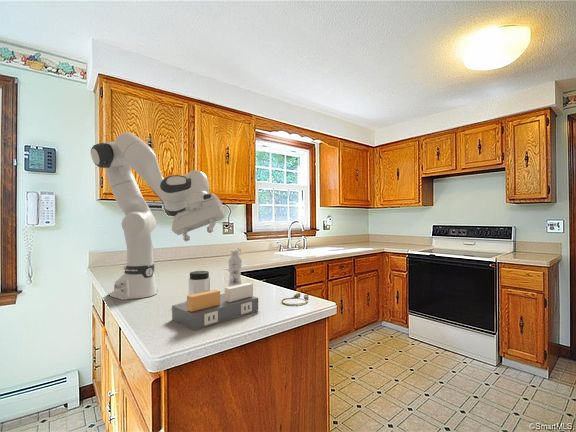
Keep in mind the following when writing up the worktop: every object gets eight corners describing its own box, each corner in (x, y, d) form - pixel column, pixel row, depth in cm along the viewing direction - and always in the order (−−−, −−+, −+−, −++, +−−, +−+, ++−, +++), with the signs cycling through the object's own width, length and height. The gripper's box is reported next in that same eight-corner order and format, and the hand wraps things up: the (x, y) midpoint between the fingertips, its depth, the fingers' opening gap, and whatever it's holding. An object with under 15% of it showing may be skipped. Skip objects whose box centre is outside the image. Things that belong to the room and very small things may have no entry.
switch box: (163, 315, 108) (163, 301, 108) (225, 300, 128) (225, 288, 128) (195, 330, 93) (195, 314, 93) (259, 311, 113) (259, 297, 113)
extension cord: (319, 301, 128) (319, 296, 128) (293, 309, 117) (293, 304, 117) (299, 296, 137) (299, 291, 137) (273, 302, 126) (273, 297, 126)
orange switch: (186, 309, 98) (186, 295, 98) (215, 302, 106) (215, 289, 106) (191, 311, 95) (191, 297, 96) (220, 304, 104) (220, 291, 104)
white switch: (224, 300, 109) (224, 287, 109) (248, 294, 117) (248, 282, 117) (229, 301, 107) (229, 289, 107) (252, 296, 115) (252, 283, 115)
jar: (210, 296, 135) (209, 270, 135) (209, 301, 127) (209, 273, 127) (189, 297, 133) (189, 271, 133) (187, 302, 125) (187, 274, 125)
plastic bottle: (235, 289, 147) (235, 249, 147) (244, 292, 143) (244, 250, 143) (225, 292, 142) (225, 250, 142) (234, 294, 138) (234, 251, 138)
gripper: (169, 210, 111) (166, 241, 103) (217, 191, 108) (219, 222, 100) (179, 218, 116) (178, 248, 108) (225, 201, 113) (228, 231, 105)
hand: (198, 236), depth 104 cm, fingers open, 8 cm apart
